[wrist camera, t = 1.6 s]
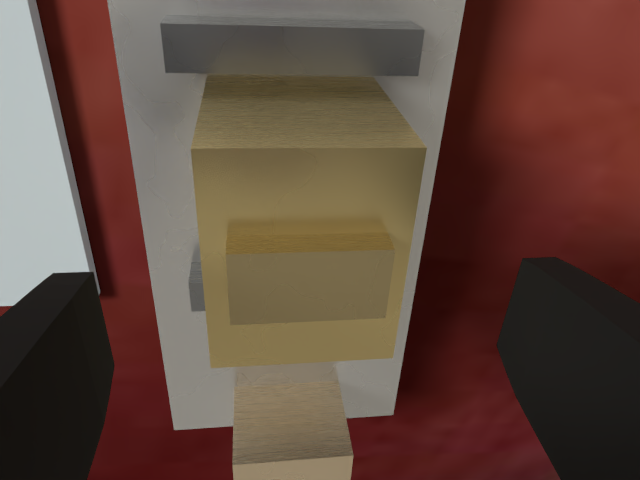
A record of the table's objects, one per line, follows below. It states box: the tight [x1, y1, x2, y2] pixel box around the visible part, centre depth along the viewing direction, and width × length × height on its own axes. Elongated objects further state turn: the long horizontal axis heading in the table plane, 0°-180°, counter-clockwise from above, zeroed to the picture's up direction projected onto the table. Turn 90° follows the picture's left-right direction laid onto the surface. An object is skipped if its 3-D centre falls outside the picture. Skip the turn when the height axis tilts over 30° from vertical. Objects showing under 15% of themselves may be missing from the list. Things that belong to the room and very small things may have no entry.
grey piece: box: [107, 0, 466, 480], centre depth 14 cm, size 20×8×6 cm, turn 177°
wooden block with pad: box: [191, 75, 427, 368], centre depth 12 cm, size 5×4×5 cm
